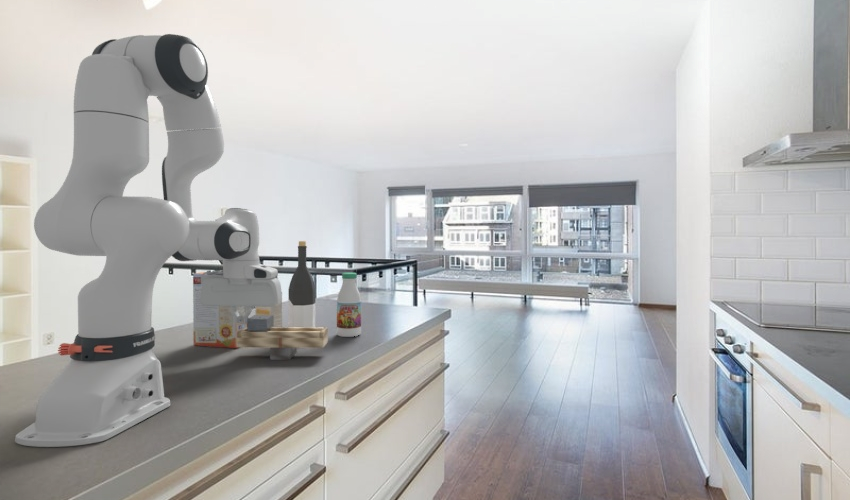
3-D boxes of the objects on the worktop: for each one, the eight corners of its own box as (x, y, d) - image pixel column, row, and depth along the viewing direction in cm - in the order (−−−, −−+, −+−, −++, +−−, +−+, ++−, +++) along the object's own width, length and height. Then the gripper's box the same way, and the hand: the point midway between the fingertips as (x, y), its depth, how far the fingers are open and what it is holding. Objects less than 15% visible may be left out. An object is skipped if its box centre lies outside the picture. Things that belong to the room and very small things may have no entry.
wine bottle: (317, 339, 134) (317, 241, 132) (289, 341, 131) (289, 241, 129) (313, 333, 141) (313, 241, 140) (287, 335, 138) (287, 240, 137)
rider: (273, 331, 118) (273, 315, 118) (267, 336, 113) (266, 319, 113) (254, 331, 118) (254, 315, 118) (247, 336, 113) (247, 319, 112)
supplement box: (283, 331, 144) (283, 291, 144) (271, 334, 140) (270, 293, 140) (266, 328, 149) (266, 289, 148) (254, 330, 144) (254, 291, 144)
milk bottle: (334, 333, 142) (334, 272, 141) (357, 331, 146) (357, 271, 145) (340, 338, 135) (340, 274, 134) (364, 336, 139) (364, 273, 138)
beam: (327, 352, 120) (328, 326, 120) (322, 359, 113) (323, 332, 113) (246, 352, 119) (246, 326, 119) (236, 359, 112) (236, 332, 112)
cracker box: (248, 344, 127) (248, 272, 126) (235, 349, 121) (234, 274, 121) (207, 340, 131) (207, 270, 130) (192, 345, 125) (192, 272, 124)
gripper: (195, 271, 111) (195, 325, 112) (276, 272, 112) (276, 325, 113) (206, 269, 117) (206, 320, 118) (283, 270, 118) (283, 320, 119)
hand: (241, 323), depth 115 cm, fingers closed
